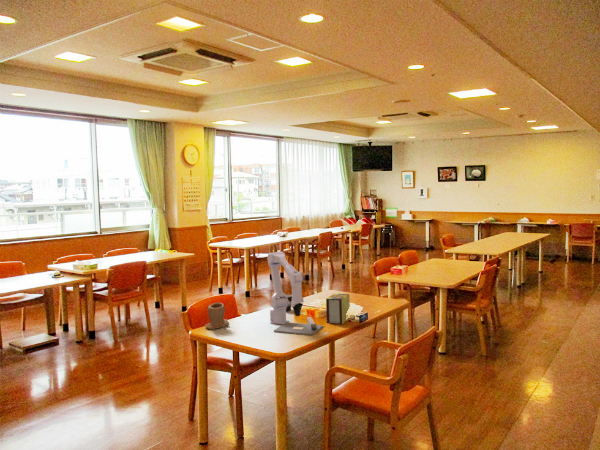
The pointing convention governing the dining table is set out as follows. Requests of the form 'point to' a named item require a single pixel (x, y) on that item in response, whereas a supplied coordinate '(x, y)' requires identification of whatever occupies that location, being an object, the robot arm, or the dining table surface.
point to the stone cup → (216, 316)
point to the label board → (297, 329)
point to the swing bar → (311, 323)
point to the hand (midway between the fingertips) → (297, 316)
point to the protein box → (337, 308)
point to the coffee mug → (289, 302)
